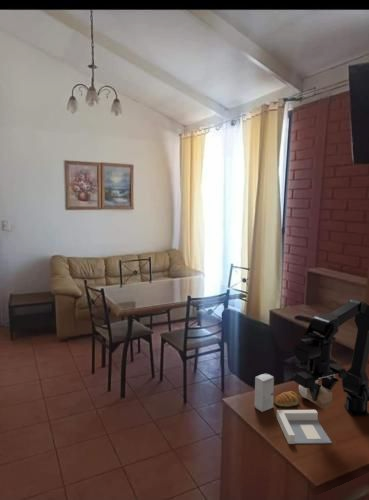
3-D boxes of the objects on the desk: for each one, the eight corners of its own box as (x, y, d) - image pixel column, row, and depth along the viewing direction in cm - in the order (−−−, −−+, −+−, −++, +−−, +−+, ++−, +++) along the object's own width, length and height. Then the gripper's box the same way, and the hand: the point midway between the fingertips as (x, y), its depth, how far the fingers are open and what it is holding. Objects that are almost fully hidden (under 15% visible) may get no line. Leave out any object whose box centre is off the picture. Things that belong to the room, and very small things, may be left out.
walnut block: (331, 405, 117) (332, 391, 116) (322, 408, 115) (323, 394, 115) (315, 395, 123) (315, 382, 123) (306, 398, 122) (307, 384, 121)
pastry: (280, 410, 133) (280, 400, 133) (269, 401, 139) (269, 392, 139) (300, 404, 136) (300, 395, 136) (289, 396, 143) (289, 387, 142)
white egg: (313, 405, 136) (314, 387, 135) (295, 398, 141) (296, 381, 140) (323, 394, 143) (324, 377, 142) (305, 388, 148) (306, 372, 147)
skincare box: (262, 412, 131) (263, 381, 130) (253, 406, 135) (254, 376, 133) (273, 407, 135) (274, 377, 133) (265, 401, 138) (266, 372, 137)
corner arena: (315, 417, 128) (315, 409, 128) (331, 443, 114) (332, 434, 114) (276, 417, 128) (276, 410, 127) (288, 443, 114) (288, 435, 114)
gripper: (323, 342, 129) (320, 382, 130) (283, 350, 120) (280, 393, 122) (349, 353, 119) (346, 397, 120) (307, 363, 111) (304, 410, 112)
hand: (318, 399), depth 119 cm, fingers closed on walnut block, 4 cm apart
